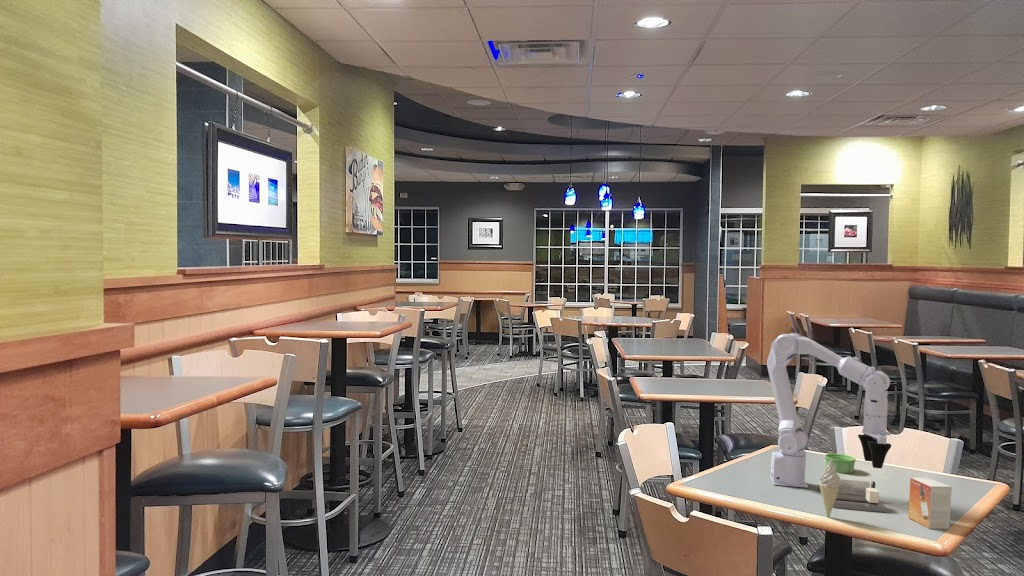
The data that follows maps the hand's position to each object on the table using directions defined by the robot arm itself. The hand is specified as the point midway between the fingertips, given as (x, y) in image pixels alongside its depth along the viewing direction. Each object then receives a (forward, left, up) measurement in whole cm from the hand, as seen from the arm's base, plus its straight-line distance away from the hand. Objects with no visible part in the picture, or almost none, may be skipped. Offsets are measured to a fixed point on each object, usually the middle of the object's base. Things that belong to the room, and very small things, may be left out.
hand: (873, 464), depth 198 cm
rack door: (-6, -1, -8) cm, 10 cm away
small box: (+9, -18, -10) cm, 22 cm away
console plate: (-6, -3, -10) cm, 12 cm away
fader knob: (-2, -8, -8) cm, 12 cm away
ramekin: (-1, +31, -10) cm, 33 cm away
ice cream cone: (-15, -21, -10) cm, 28 cm away
